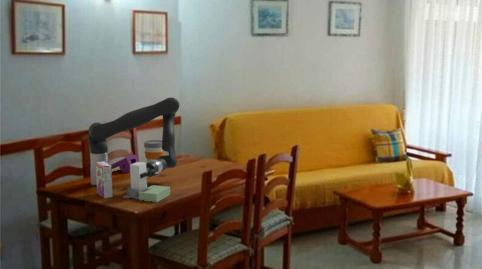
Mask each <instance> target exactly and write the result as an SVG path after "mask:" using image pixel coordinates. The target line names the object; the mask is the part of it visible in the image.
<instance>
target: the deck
mask: <svg viewBox="0 0 482 269" xmlns="http://www.w3.org/2000/svg"><path fill="white" fill-rule="evenodd" d="M168 196H171V186H164V185H163V186H162V185H153V184H152V185H150V186H147V188H146V189H144V190H142V191H140V192H138V193H137V190H136V189H131V185H129V186H127V187H126V194H125V195H122V197H123V199H129V198H132V199H131V200H138V199H139V200H138V201H142V200H144V202H145V201H146V202H151V201H152V202H153V203H158V202H159V201H161V200H163V199H166V198H167V197H168ZM152 202H151V203H152Z"/></svg>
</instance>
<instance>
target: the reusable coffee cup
mask: <svg viewBox="0 0 482 269" xmlns="http://www.w3.org/2000/svg"><path fill="white" fill-rule="evenodd" d="M143 147H144V155H145V159H146V163H148V162H151V161H153V160H156V159H157V158H158V157H160V156H165V151H163V150H162V140H160V139H153V140H146V141H144V143H143Z"/></svg>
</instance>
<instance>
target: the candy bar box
mask: <svg viewBox="0 0 482 269" xmlns="http://www.w3.org/2000/svg"><path fill="white" fill-rule="evenodd" d="M111 165H112V164H109V163H108V164H107V163H106V162H96V163H95V166H96V183H97V185H96V194H97V195H99V196H100V197H101V198H103V199H104V200H105V199H111V198H113V197H114V194H113V173H112V171H113V170H112V168H111Z"/></svg>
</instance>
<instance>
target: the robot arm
mask: <svg viewBox="0 0 482 269" xmlns="http://www.w3.org/2000/svg"><path fill="white" fill-rule="evenodd" d="M179 108H180V101H179V100H178V99H177V98H175V97H166V98H165V99H163V100H161V101H158V102H156V103H154V104H152V105H147V106H143V107H140V108H138V109H134V110H131V111H129V112H126V113H124V114H123V115H121V116H119V117H118V118H116V119H114V120H111V121H108V122H104V123H101V122H93V123H91V125H89V127H88V144H89V145H88V146H89V151H90V152H89V153H90V155H89V156H90V184H91V186H92V185H93V186H97V183H96V166H95V163H96V162H106V163H107V164H109V148H108V144H107V139H109V138H111V137H113V136H115V135H117V134H119V133H123V132H126V131H130V130H132V129H136V128H139V127H142V126H144V125H146V124H148V123H150V122H152V121H153V120H155V119H156V118H158V117H162V135H161V136H162V137H161V139H162V140H161V141H162V150H163V151H164V152H167V153H168V155H166V154H164V156H160V157H158V158H157V159H156V160H153V161H151V162H148V163H147V162H145V163H146V172H145V173H142V174H140V178H144V177H147V178H151V177H152V178H153V177H154V176H158V174H160V173H162V172H164V171H165V170H166V169H174V168H176V166H177V164H178V158H177V155H176V150H175V145H176V144H175V143H176V134H175V118H176V113H177V112H178V111H179Z"/></svg>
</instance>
